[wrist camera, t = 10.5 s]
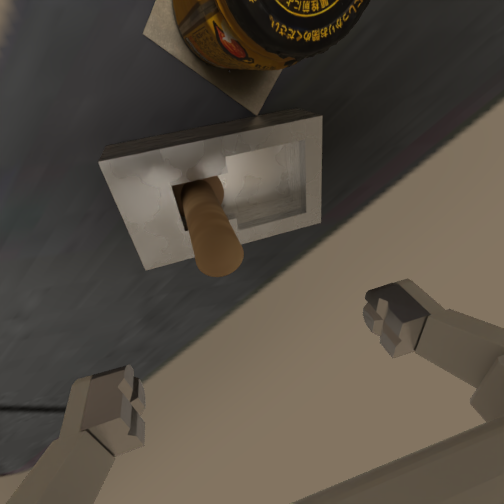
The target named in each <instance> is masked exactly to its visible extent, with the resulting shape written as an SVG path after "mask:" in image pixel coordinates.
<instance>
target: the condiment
mask: <svg viewBox="0 0 504 504" xmlns="http://www.w3.org/2000/svg"><path fill="white" fill-rule="evenodd" d="M369 2H370V0H156V1H155V4H154V7H153V9H152V12H151V14H150V17H149V19H148V22H147V24H146V27H145V29H144V32H143V34H144V35H145V36H147V37H148V38H149V39H151V40H152V41H154V42H155V43H156V44H158V45H159V46H161V47H162V48H163V49H165V50H166V51H167V52H169V53H170V54H172V55H173V56H174V57H176V58H177V59H179V60H180V61H181V62H183V63H184V64H185V65H187V66H188V67H190V68H191V69H192V70H194V71H195V72H197V73H198V74H199V75H201V76H202V77H204V78H205V79H206V80H207V81H209V82H211V83H212V84H213V85H215V86H216V87H218V88H219V89H220V90H222V91H223V92H224V93H226V94H227V95H229V96H230V97H231V98H233V99H234V100H235V101H237V102H238V103H240V104H241V105H243V106H244V107H245V108H247V109H248V110H250V111H251V112H252V113H254V114H255V115H256V116H257V115H258V113H259V111H260V110H261V108H262V106H263V104H264V102H265V100H266V98H267V96H268V95H269V93H270V91H271V89H272V88H273V86H274V84H275V82H276V80H277V78H278V76H279V75H280V73H281V71H282V70H283V68H286V67H290V66H292V65H294V64H296V63H297V62H299V61H301V60H302V59H304V58H309V57H313V56H315V55H316V54H320V53H324V52H325V51H327V50H328V49H329V47H331V46H333V45H335V44H337V42H338V41H340V40H341V39H342V38H344V37H345V36H346V35H347V34H348V33H349V31H350V30H351V29H352V28H353V26H354V25H355V24H356V23H357V21H358V20H359V18H360V16H361V15H362V13H363V11H364V10H365V9H366V7H367V6H368V4H369ZM229 70H230V71H231V72H229Z"/></svg>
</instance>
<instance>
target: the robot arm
mask: <svg viewBox="0 0 504 504" xmlns="http://www.w3.org/2000/svg"><path fill="white" fill-rule="evenodd" d="M365 299H366V300H367V301H368V303H367V304H366V305H365V306H364V308H363V316H364V320H365V323H366V325H367V326H368V328H369V329H370V330H371V332H372V333H374V334H376V335H378V336H380V343H381V345H382V346H383V347H384V348H385V350H386V351H387V352H388V353H389V355H391V357H392V358H396V357H399V356H402V355H405V354H408V353H411V352H414V351H415V353H416V354H418V355H420V356H422V357H423V358H425V359H427V360H428V361H430V362H432V363H434V364H435V365H437V366H439V367H441V368H442V369H444V370H446V371H447V372H450V373H451V374H453V375H454V376H456V377H458V378H460V379H461V380H463V381H465V382H467V383H468V384H470V385H472V386H473V387H475V388H477V389H476V391H475V392H474V394H473V395H472V397H471V398H470V404H471V405H472V406H473V408H474V409H475V410H476V411H477V412H478V413H479V414H480V415H481V416H482V418H483V419H484V420H485V421H486V423H484V424H481V425H479V426H476V427H474V428H472V429H469V430H467V431H464V432H462V433H459V434H457V435H455V436H452V437H450V438H447V439H445V440H443V441H440V442H438V443H435V444H433V445H430V446H428V447H426V448H423V449H421V450H419V451H416V452H414V453H411V454H409V455H406V456H404V457H401V458H399V459H397V460H394V461H392V462H389V463H387V464H385V465H382V466H380V467H377V468H375V469H372V470H370V471H368V472H365V473H363V474H360V475H358V476H356V477H353V478H351V479H348V480H346V481H343V482H341V483H339V484H336V485H334V486H331V487H329V488H327V489H324V490H322V491H319V492H317V493H315V494H312V495H310V496H307V497H305V498H303V499H300V500H298V501H296V502H293V503H290V504H504V328H501V327H498V326H496V325H493V324H490V323H487V322H485V321H482V320H479V319H476V318H473V317H471V316H468V315H465V314H462V313H460V312H457V311H454V310H451V309H448V310H445V309H444V308H443V307H442V306H441V305H439V304H438V303H437V302H436V301H435V300H434V299H432V298H431V297H430V296H429V295H428V294H427V293H425V292H424V291H423V290H422V289H421V288H420V287H419V286H418V285H416V284H415V283H414V282H413V281H411V280H409V279H405V280H401V281H398V282H395V283H390V284H387V285H384V286H381V287H378V288H375V289H372V290H369V291H368V292H367V293H366V296H365ZM144 409H145V393H144V388H143V385H142V382H141V381H140V379H139V378H136V377H134V370H133V369H132V367H131V366H130V365H126V366H123V367H119V368H115V369H112V370H108V371H105V372H101V373H98V374H94V375H91V376H87V377H84V378H81V379H77V380H76V381H75V382H74V384H73V385H72V388H71V392H70V396H69V400H68V404H67V408H66V412H65V416H64V420H63V424H62V428H61V432H60V436H59V439H58V440H55V441H53V442H52V443H51V445H50V446H49V447H48V448H47V450H46V451H45V452H44V454H43V455H42V456H41V458H40V459H39V460H38V462H37V463H36V464H35V466H34V467H33V468H32V470H31V471H30V472H29V474H28V475H27V476H26V477H25V479H24V480H23V481H22V483H21V484H20V485H19V487H18V488H17V489H16V491H15V492H14V493H13V495H12V496H11V498H10V499H9V500H8V501H7V503H6V504H93V503H94V501H95V499H96V497H97V495H98V493H99V491H100V489H101V487H102V485H103V483H104V481H105V479H106V477H107V475H108V473H109V471H110V468H111V467H112V465H113V463H114V461H115V457H116V456H119V455H121V454H124V453H126V452H129V451H132V450H135V449H137V448H140V447H142V446H144V440H145V439H144V438H145V422H144V421H143V419H142V418H141V414H142V413H143V411H144Z"/></svg>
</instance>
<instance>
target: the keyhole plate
mask: <svg viewBox="0 0 504 504" xmlns="http://www.w3.org/2000/svg"><path fill="white" fill-rule="evenodd" d="M98 163H99V166H100V168H101V170H102V173H103V175H104V177H105V179H106V182H107V184H108V186H109V188H110V191H111V193H112V195H113V197H114V200H115V202H116V204H117V207H118V209H119V211H120V213H121V216H122V218H123V220H124V222H125V225H126V227H127V229H128V231H129V234H130V236H131V238H132V241H133V243H134V245H135V247H136V250H137V252H138V254H139V256H140V259H141V261H142V263H143V265H144V268H145V270H150V269H153V268H157V267H161V266H164V265H168V264H172V263H175V262H179V261H183V260H186V259H190V258H193V257H195V255H194V251H193V247H192V243H191V239H190V235H189V230H188V226H187V222H186V218H185V217H183V216H181V215H180V211H179V208H178V205H177V202H176V198H175V195H174V192H173V188H172V186H173V185H178V184H182V183H186V182H191V181H195V180H199V179H204V178H208V177H213V176H218V178H219V179H220V181H221V183H222V185H223V189H224V198H223V202H222V204H221V207H222V209H223V211H224V212H225V214H226V216H227V218H228V220H229V222H230V224H231V226H232V228H233V230H234V232H235V234H236V236H237V238H238V240H239V242H240V244H245V243H248V242H252V241H256V240H259V239H263V238H266V237H270V236H274V235H277V234H281V233H285V232H288V231H292V230H296V229H299V228H303V227H307V226H310V225H314V224H318V223H321V183H322V115H319V114H316V113H313V112H309V111H306V110H303V109H300V108H293V109H288V110H283V111H278V112H273V113H268V114H263V115H258V116H253V117H248V118H243V119H238V120H233V121H228V122H223V123H218V124H213V125H207V126H202V127H197V128H192V129H187V130H182V131H177V132H172V133H167V134H162V135H157V136H152V137H147V138H142V139H137V140H132V141H127V142H122V143H117V144H112V145H107V146H106V147H105V149H104V151H103V153H102V155H101V157H100V159H99V161H98Z"/></svg>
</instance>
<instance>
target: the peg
mask: <svg viewBox="0 0 504 504" xmlns="http://www.w3.org/2000/svg"><path fill="white" fill-rule="evenodd" d="M172 188H173V192H174V195H175V198H176V202H177V205H178V208H179V211H180V215H181V216H183V217H185V218H186V222H187V226H188V230H189V235H190V239H191V243H192V247H193V251H194V255H195V260H196V264H197V266H198V268H199V270H200V271H201V272H203V273H204V274H206V275H208V276H212V277H222V276H226V275H228V274H230V273H232V272H234V271H235V270H236V269H237V268H238V267H239V266H240V264H241V262H242V260H243V256H244V252H243V248H242V246H241V244H240V242H239V240H238V238H237V236H236V234H235V232H234V230H233V228H232V226H231V224H230V222H229V220H228V218H227V216H226V214H225V212H224V211H223V209H222V207H221V204H222V202H223V198H224V189H223V185H222V183H221V181H220V179H219V178H218V176H213V177H208V178H204V179H199V180H195V181H191V182H186V183H182V184H178V185H173V186H172Z"/></svg>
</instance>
